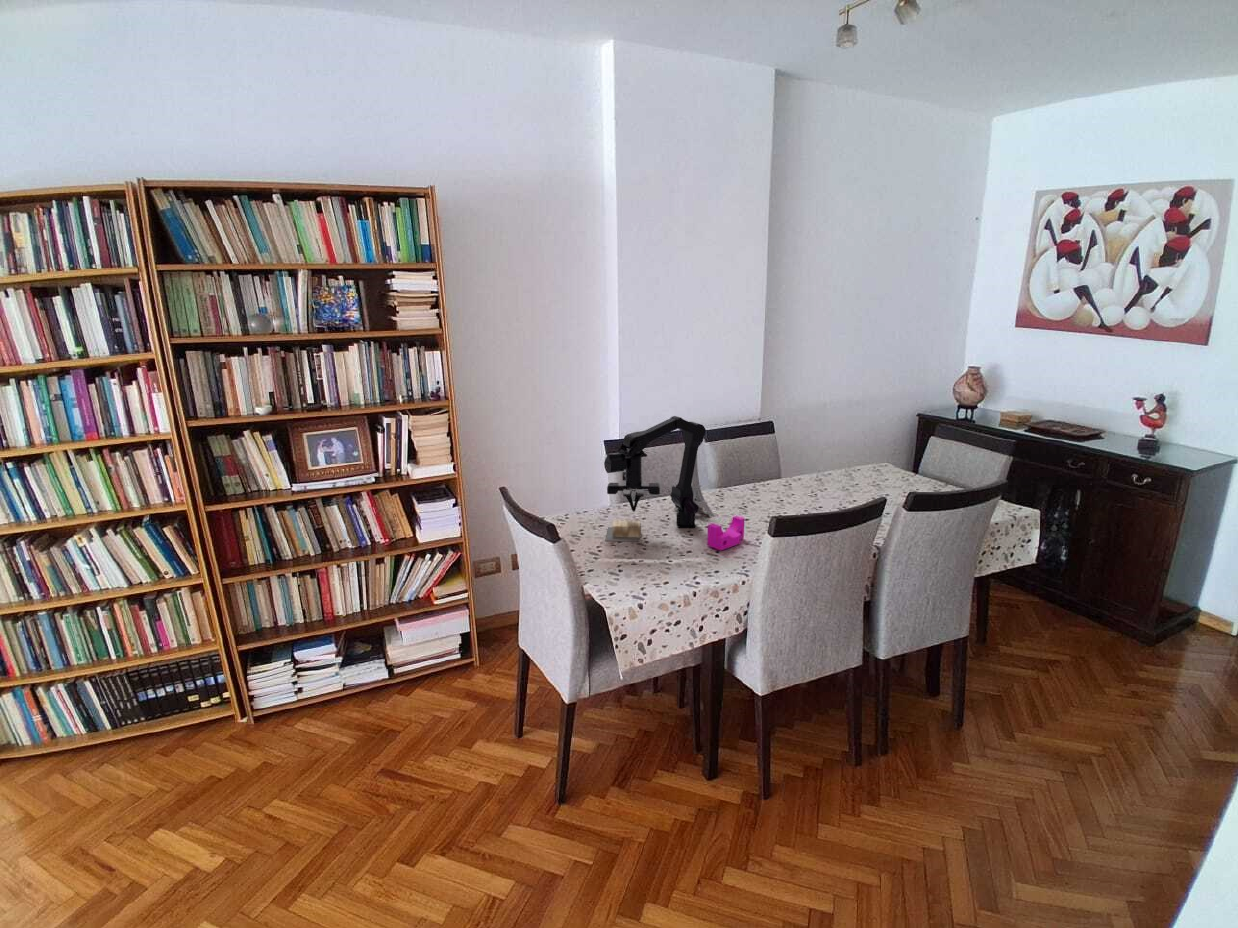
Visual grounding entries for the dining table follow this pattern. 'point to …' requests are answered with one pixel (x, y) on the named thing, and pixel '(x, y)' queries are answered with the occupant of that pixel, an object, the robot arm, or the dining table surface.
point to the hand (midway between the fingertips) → (633, 511)
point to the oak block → (627, 529)
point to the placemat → (622, 539)
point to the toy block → (726, 534)
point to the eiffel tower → (698, 493)
